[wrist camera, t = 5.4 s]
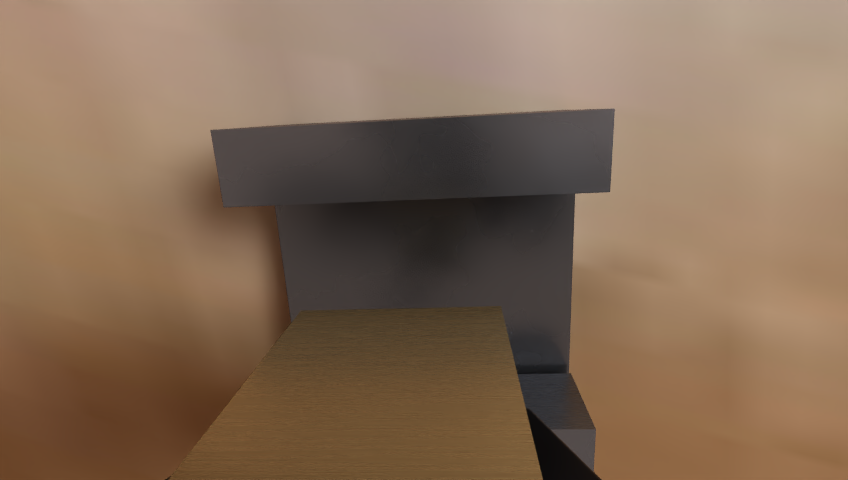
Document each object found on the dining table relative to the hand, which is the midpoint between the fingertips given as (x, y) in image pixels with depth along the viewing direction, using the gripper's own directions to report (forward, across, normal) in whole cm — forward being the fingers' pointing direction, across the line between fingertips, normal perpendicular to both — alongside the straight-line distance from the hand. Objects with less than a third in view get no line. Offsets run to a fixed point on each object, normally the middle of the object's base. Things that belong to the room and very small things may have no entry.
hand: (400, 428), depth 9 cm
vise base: (+9, 0, 0) cm, 9 cm away
